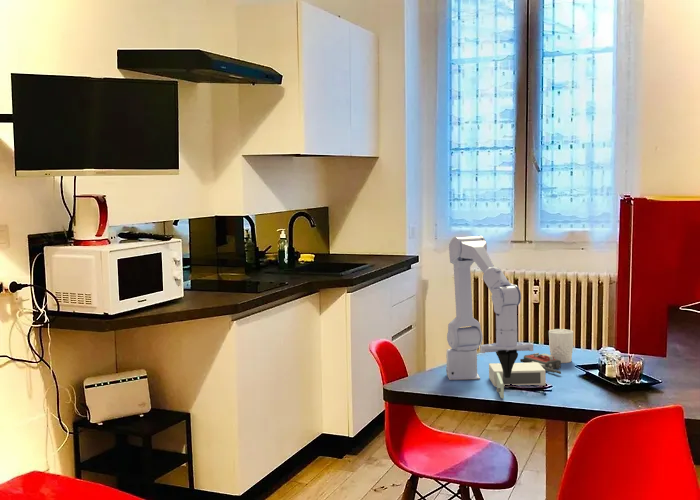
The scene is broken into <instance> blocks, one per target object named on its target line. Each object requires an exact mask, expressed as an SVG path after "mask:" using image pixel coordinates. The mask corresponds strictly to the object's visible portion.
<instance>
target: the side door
mask: <svg viewBox="0 0 700 500" xmlns="http://www.w3.org/2000/svg"><path fill="white" fill-rule="evenodd" d="M496 392H497V393H498V394H499V396H500V397H499V398H500V399H505V393H504V392H505V386H504V384H503V381H502V378H501V376H500V373H497V386H496Z"/></svg>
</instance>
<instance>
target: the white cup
mask: <svg viewBox="0 0 700 500" xmlns="http://www.w3.org/2000/svg"><path fill="white" fill-rule="evenodd" d="M548 340H549V341H548V343H549V345H548V346H549V352H550V353H549V354H550V355H552V356H553V357H554V359H557V360H560V361H561V364H568V363H569V364H570V363H571V362H572V361H573V357H572V356H573V346H574V330H572V329H565V328H554V329H550V330H548Z"/></svg>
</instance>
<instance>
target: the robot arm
mask: <svg viewBox="0 0 700 500" xmlns="http://www.w3.org/2000/svg"><path fill="white" fill-rule="evenodd" d="M487 244H488V243H487V242H486V239H485V237H484V236H482V235H475V236H473V235H472V236H460V237H459V236H458V237H457V236H454V237H452V238H451V240H450V242H449V243H448V251H449V252H448V253H449V263H450V264H452V265H453V278H454V279H453V280H454V282H453V283H454V299H455V301H454V302H455V318H453V319H452V320H451V321H450V322H449V323H448V325H447V334H446V342H447V344H448V346H449V347H450V348H448V349H446V368H445V370H446V371H445V374H446V375H447V378H448V380H449V381H453V380H455V381H457V380H460V381H461V380H462V381H463V380H481V377H480V375H479V374H478V350H479V352H480V353H481V354H485V353H495V354H496V356H497V359H498V361H499V362H500V363H501V366H502V369H503V374H504V377H505V378H510V376H511V371H512V368H513V365H514V363H516V360H517V358H518V356H519V352H526V351H529V352H534V344H533V343H532V342H518V315H517V314H518V306H519V305H520V304H521V302H522V293H521V290H520V288H519V286H518V285H517V284H513V283H511V282H510V281H509V280H508V278H507V277H506V275H505V273H504V272H503V271H502V269H501V268H499V267H496V266H494V264H493V261H492V260H491V258H490V256H489V254H488V252H487V251H488V245H487ZM474 263H475V264H476V265H477V267H478V268H479V269H480V271H481V272H482V274H483V275H482V279H483V281H484V283H485V284H486V287H487V288H488V289H489V291H490V293H491V296H490V297H491V302H492V304H493V311H494V313H495V338H496V339H495V342H493V343H486V344H482V343H483V339H484V337H483V335H484V334H483V331H482V328H481V323H480V322H479V321H478V320H477V319H475V318H474V315H473V298H472V297H473V296H472V295H473V294H472V278H471V277H472V275H471V266H472V265H473V264H474Z"/></svg>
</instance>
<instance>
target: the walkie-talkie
mask: <svg viewBox="0 0 700 500" xmlns="http://www.w3.org/2000/svg"><path fill="white" fill-rule="evenodd" d="M519 362H520V363H533V362H538V363H539V364H540V365H541V366H542V367H543V368H544V369H545V372H546V371H547V372H550V373H553V374H554V373H556V374H560V375H561V374H562V371H561V370H559V369H561V367H562V365H561V364H562V363H561V361H560V360H557V359H554V357H553V356H552V355H551V354H550V353H540V352H535V353H531V354H530V353H529V354H525V355H523V358H520V361H519Z"/></svg>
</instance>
